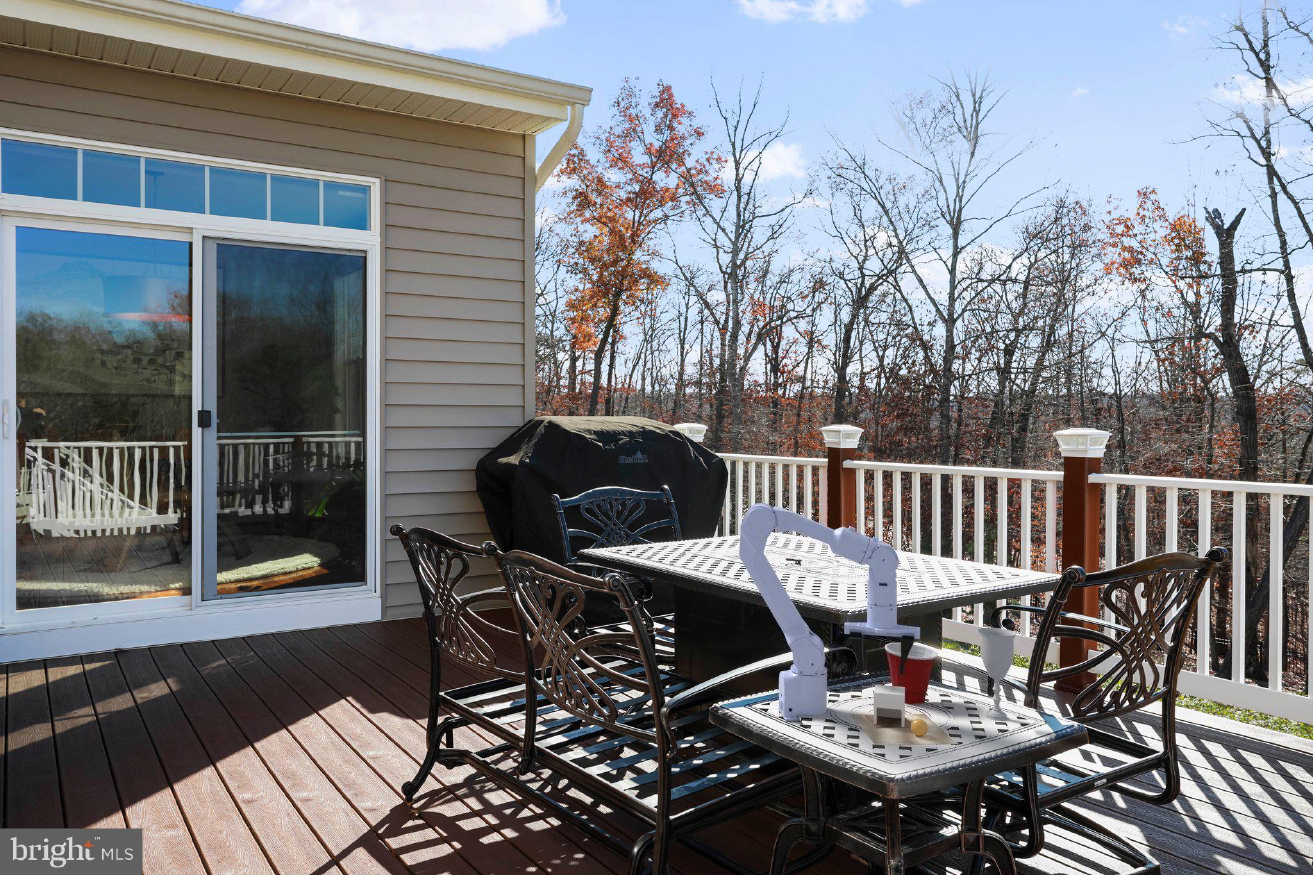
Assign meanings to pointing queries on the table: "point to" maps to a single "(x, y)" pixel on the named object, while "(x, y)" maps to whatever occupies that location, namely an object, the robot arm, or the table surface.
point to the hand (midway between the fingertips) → (881, 671)
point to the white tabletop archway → (889, 702)
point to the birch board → (900, 730)
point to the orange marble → (919, 727)
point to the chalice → (997, 662)
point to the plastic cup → (911, 670)
